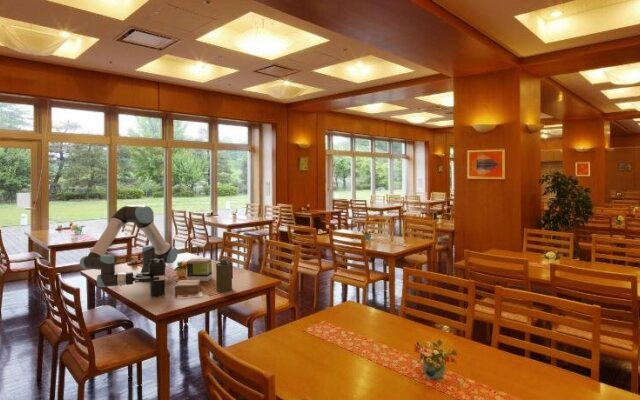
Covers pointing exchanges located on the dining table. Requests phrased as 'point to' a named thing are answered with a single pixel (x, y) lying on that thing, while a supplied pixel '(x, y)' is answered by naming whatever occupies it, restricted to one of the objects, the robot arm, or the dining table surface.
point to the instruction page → (189, 296)
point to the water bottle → (157, 269)
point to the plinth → (187, 287)
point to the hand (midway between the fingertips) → (165, 275)
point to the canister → (224, 276)
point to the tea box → (199, 269)
